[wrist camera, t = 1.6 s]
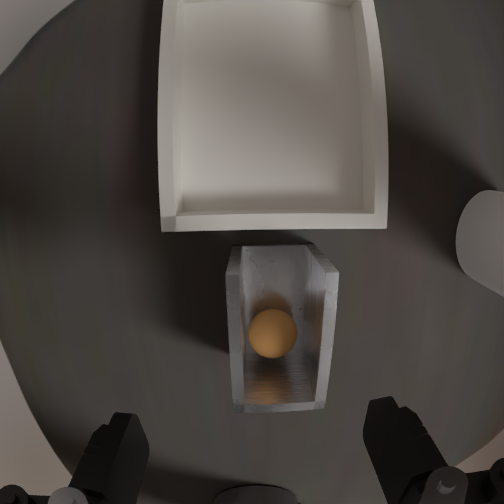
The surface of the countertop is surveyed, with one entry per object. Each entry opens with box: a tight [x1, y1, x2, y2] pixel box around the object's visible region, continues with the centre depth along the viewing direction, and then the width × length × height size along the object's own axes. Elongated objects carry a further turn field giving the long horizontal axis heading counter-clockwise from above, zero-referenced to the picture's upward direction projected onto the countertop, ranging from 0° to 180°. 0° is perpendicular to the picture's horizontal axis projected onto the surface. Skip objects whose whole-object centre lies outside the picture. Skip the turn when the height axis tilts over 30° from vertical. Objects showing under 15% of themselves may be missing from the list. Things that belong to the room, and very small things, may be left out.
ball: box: [248, 309, 298, 358], centre depth 19 cm, size 3×3×3 cm
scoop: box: [225, 244, 339, 413], centre depth 18 cm, size 8×5×6 cm, turn 1°
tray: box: [158, 0, 388, 232], centre depth 16 cm, size 15×12×3 cm
